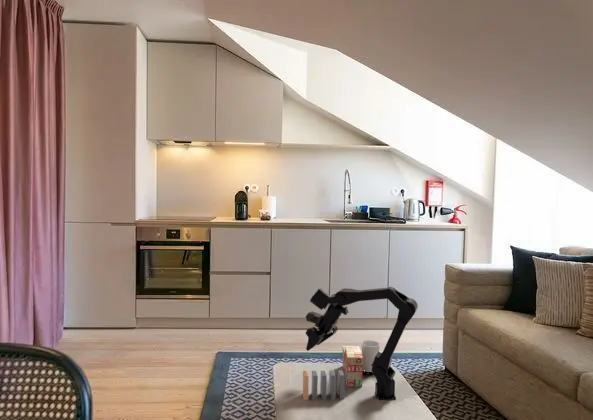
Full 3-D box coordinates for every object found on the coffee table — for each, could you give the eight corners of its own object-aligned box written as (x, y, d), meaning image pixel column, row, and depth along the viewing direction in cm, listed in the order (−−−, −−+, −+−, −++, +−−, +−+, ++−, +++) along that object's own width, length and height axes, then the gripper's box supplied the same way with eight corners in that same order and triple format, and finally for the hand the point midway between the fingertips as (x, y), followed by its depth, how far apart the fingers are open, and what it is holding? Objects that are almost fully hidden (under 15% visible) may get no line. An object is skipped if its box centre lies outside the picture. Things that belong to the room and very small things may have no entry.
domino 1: (306, 394, 173) (307, 370, 173) (308, 399, 169) (308, 376, 168) (302, 394, 173) (303, 371, 173) (303, 399, 169) (304, 376, 168)
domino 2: (315, 393, 174) (315, 370, 173) (317, 399, 169) (317, 375, 169) (311, 393, 174) (311, 370, 173) (313, 399, 169) (313, 376, 168)
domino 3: (324, 393, 174) (324, 370, 174) (326, 399, 169) (326, 375, 169) (320, 393, 174) (320, 370, 173) (322, 399, 169) (322, 375, 169)
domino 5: (341, 393, 175) (342, 370, 174) (344, 398, 170) (344, 375, 169) (337, 393, 174) (338, 370, 174) (340, 398, 170) (340, 375, 169)
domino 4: (333, 393, 174) (333, 370, 174) (335, 399, 170) (335, 375, 169) (329, 393, 174) (329, 370, 174) (331, 399, 169) (331, 375, 169)
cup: (382, 369, 198) (382, 342, 197) (375, 375, 191) (375, 347, 190) (365, 365, 202) (365, 339, 201) (357, 371, 195) (358, 344, 195)
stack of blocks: (342, 366, 202) (342, 338, 201) (356, 366, 201) (356, 339, 201) (346, 387, 180) (347, 356, 180) (362, 387, 180) (363, 357, 180)
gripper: (325, 300, 191) (307, 329, 195) (305, 308, 175) (286, 339, 178) (346, 317, 187) (327, 346, 190) (327, 326, 170) (307, 358, 174)
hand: (312, 347), depth 183 cm, fingers open, 9 cm apart
